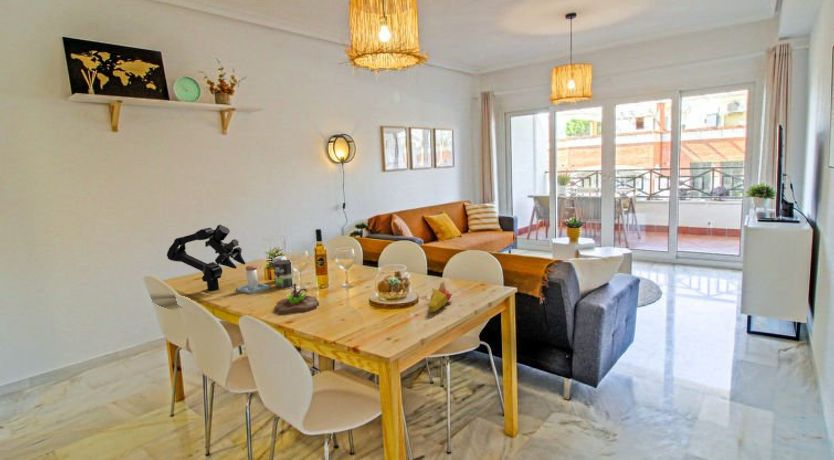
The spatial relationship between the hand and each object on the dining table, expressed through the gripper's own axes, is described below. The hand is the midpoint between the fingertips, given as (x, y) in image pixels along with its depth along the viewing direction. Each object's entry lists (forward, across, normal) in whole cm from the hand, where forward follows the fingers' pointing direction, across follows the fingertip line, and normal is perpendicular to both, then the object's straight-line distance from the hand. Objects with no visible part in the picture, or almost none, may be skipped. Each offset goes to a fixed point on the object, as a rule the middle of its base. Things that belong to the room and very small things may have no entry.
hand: (240, 266), depth 247 cm
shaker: (+13, 0, +5) cm, 14 cm away
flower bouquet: (+86, -28, -66) cm, 112 cm away
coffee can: (+25, +6, -5) cm, 26 cm away
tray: (+14, 0, +5) cm, 15 cm away
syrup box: (+20, +17, 0) cm, 26 cm away
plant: (+39, -27, -19) cm, 51 cm away
